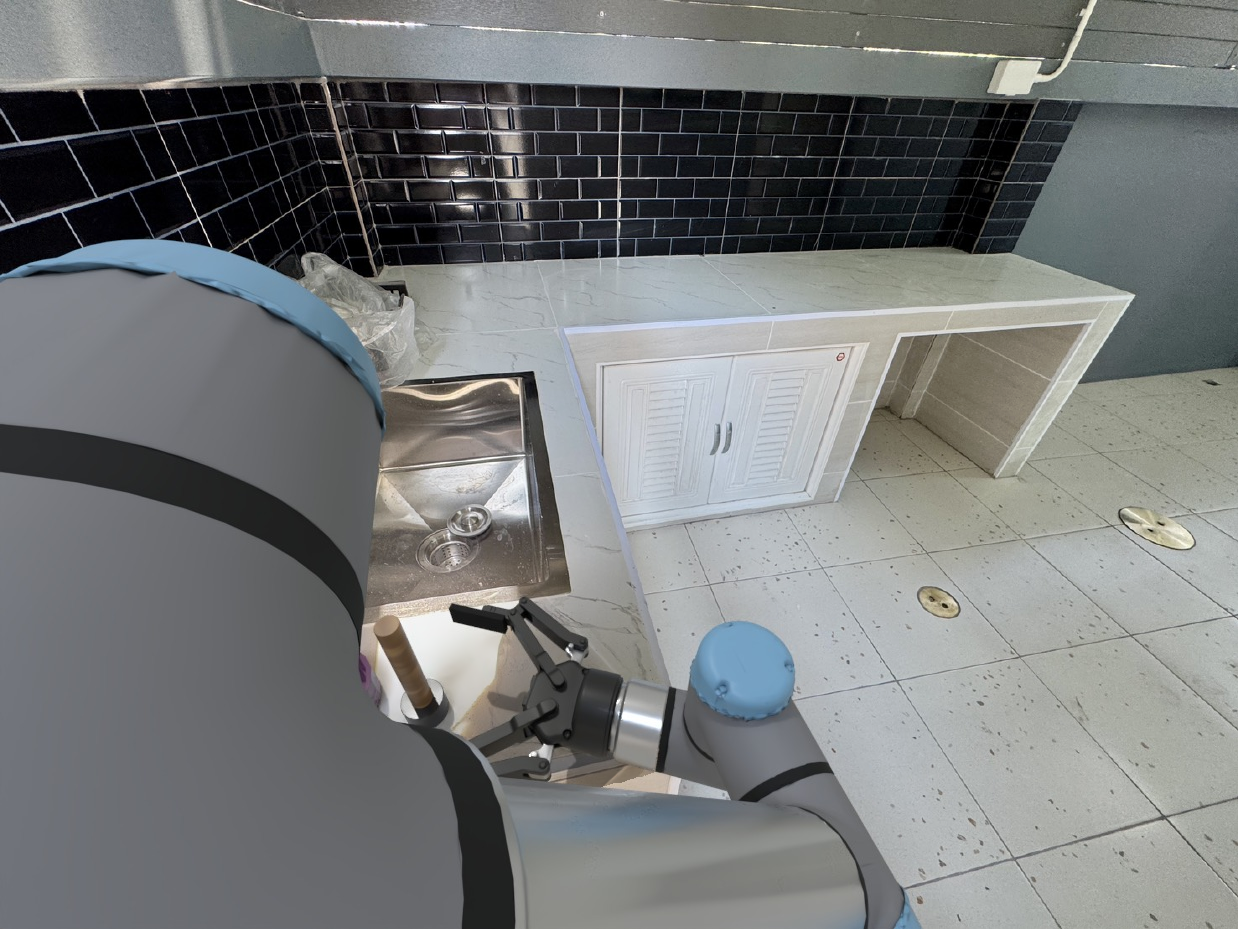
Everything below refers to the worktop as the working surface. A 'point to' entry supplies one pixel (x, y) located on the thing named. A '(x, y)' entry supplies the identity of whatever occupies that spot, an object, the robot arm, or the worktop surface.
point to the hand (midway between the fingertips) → (420, 667)
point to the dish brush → (411, 676)
